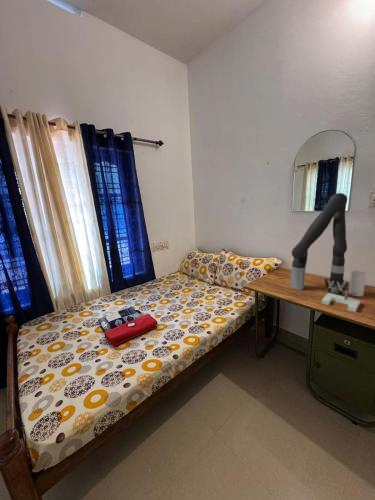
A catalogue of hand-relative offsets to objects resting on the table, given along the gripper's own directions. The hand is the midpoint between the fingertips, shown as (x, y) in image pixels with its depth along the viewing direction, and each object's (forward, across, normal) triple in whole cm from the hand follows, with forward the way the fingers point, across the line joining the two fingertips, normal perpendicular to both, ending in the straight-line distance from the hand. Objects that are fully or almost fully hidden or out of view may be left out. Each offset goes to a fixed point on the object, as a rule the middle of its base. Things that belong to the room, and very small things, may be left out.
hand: (334, 294), depth 152 cm
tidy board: (+1, +6, -12) cm, 13 cm away
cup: (+1, +10, +11) cm, 15 cm away
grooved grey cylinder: (+1, 0, 0) cm, 1 cm away
